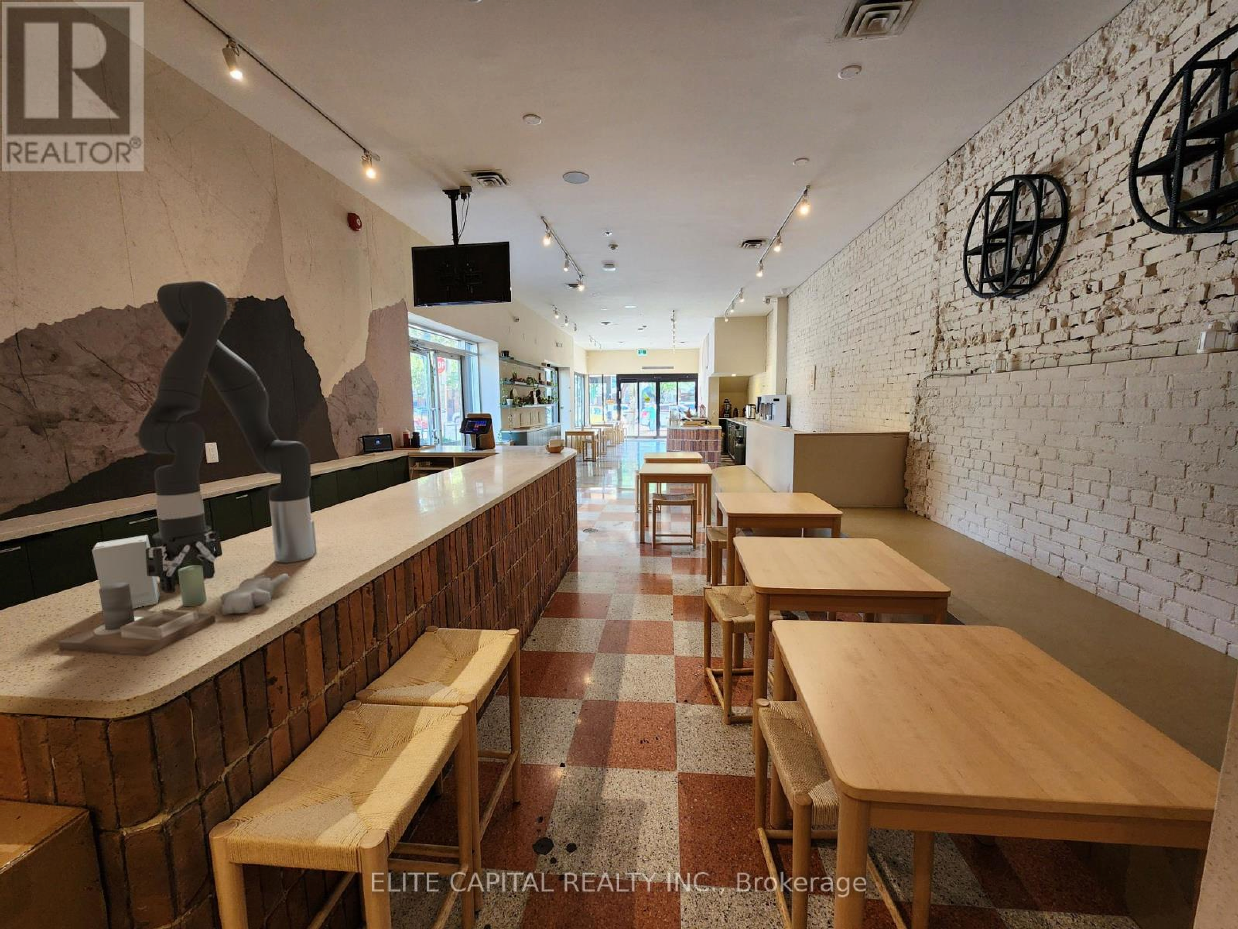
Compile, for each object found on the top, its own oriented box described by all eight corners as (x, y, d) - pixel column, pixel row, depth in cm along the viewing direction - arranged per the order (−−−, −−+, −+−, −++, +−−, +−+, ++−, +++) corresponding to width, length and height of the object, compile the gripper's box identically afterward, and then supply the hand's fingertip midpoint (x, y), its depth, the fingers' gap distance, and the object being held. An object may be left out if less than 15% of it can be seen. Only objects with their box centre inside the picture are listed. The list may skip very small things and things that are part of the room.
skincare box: (160, 596, 111) (151, 533, 108) (157, 605, 106) (148, 540, 104) (107, 606, 105) (96, 540, 103) (102, 616, 101) (91, 547, 98)
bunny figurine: (205, 601, 99) (249, 567, 113) (210, 623, 100) (253, 586, 115) (255, 599, 100) (293, 565, 114) (259, 620, 101) (296, 585, 116)
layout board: (138, 616, 100) (131, 573, 99) (215, 621, 98) (209, 577, 97) (59, 649, 88) (50, 599, 86) (146, 655, 85) (138, 605, 84)
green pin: (195, 598, 109) (191, 564, 108) (211, 599, 109) (207, 565, 108) (177, 606, 105) (172, 571, 104) (193, 607, 105) (189, 572, 104)
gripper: (198, 505, 112) (205, 573, 114) (129, 520, 98) (139, 597, 100) (227, 506, 111) (234, 574, 113) (161, 522, 97) (170, 599, 99)
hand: (189, 585), depth 106 cm, fingers open, 8 cm apart
